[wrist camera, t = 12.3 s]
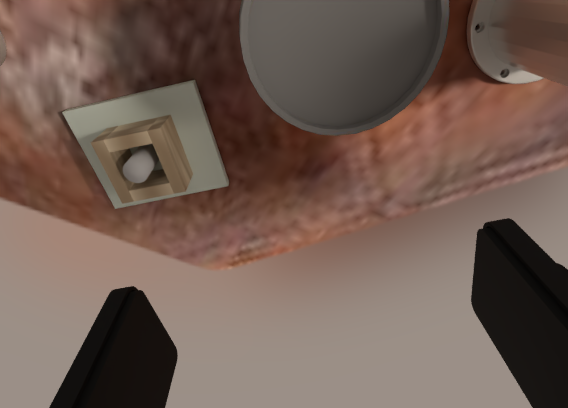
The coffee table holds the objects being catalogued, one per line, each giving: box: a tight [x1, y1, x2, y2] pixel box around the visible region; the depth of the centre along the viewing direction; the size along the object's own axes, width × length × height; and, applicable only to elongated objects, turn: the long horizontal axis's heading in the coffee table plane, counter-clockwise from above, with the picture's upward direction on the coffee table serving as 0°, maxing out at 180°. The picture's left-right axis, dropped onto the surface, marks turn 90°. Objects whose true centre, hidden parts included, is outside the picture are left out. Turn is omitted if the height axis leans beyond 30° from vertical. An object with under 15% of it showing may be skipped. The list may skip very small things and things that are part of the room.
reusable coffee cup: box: [239, 0, 449, 136], centre depth 27 cm, size 13×13×15 cm
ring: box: [91, 115, 193, 204], centre depth 37 cm, size 7×7×4 cm
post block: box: [62, 80, 229, 209], centre depth 37 cm, size 14×12×6 cm
